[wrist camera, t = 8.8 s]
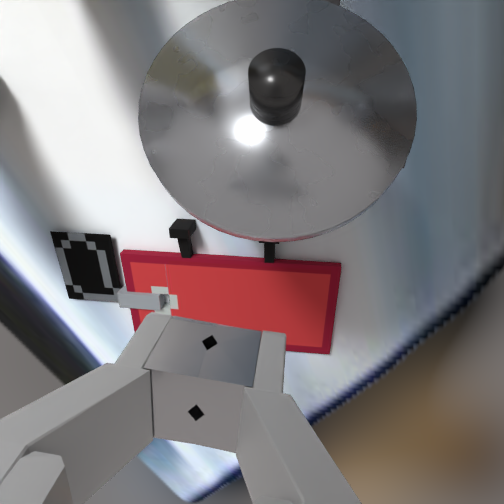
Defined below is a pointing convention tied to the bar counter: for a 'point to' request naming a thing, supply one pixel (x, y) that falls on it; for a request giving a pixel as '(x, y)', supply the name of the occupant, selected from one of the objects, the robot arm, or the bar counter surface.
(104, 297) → the red board with handle
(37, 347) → the bar counter surface
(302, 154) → the lid
